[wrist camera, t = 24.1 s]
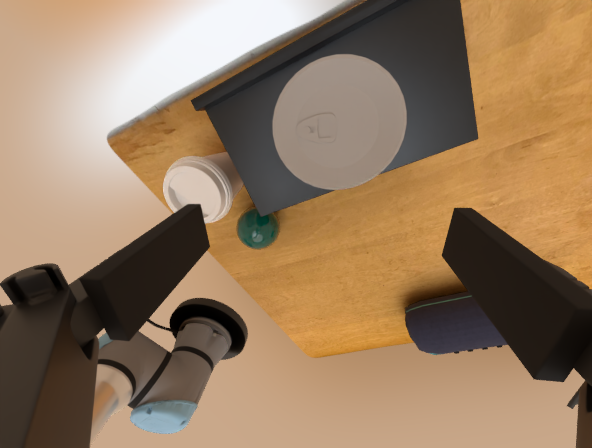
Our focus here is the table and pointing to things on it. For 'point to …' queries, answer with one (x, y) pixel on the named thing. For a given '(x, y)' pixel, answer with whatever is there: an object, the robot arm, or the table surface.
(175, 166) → the coffee cup
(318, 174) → the canned food
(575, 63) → the table surface
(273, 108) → the rack
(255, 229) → the sphere
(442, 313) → the portable speaker
